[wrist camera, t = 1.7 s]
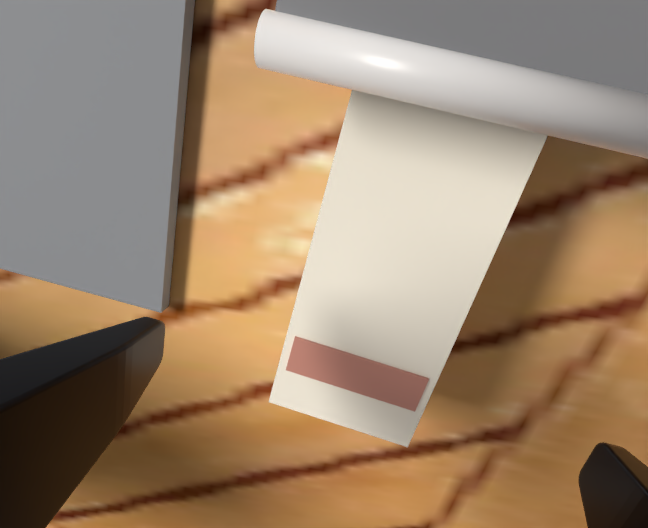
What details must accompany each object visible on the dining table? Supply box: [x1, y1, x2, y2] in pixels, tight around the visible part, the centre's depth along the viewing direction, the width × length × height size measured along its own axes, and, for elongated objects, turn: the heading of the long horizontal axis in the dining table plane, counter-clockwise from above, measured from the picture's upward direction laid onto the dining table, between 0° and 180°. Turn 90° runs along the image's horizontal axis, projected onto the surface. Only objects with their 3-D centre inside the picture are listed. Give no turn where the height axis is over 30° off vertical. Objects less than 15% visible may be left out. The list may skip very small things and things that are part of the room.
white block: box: [269, 90, 548, 447], centre depth 13 cm, size 14×4×4 cm, turn 165°
